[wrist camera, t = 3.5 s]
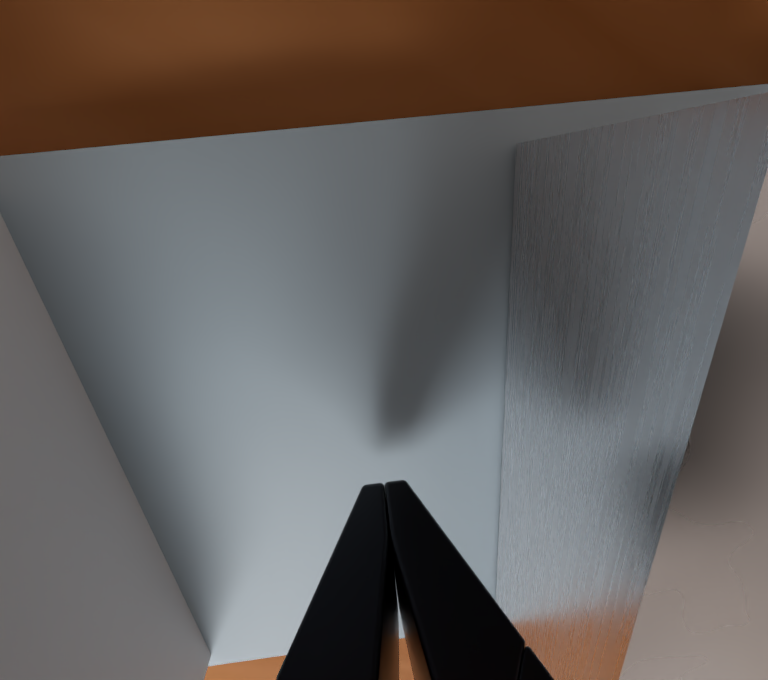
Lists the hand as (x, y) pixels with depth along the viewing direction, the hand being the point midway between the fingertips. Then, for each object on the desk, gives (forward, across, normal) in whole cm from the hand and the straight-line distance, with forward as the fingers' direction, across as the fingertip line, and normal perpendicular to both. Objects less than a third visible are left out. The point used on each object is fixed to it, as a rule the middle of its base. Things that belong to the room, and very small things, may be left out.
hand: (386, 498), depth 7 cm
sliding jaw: (+1, -4, 0) cm, 4 cm away
